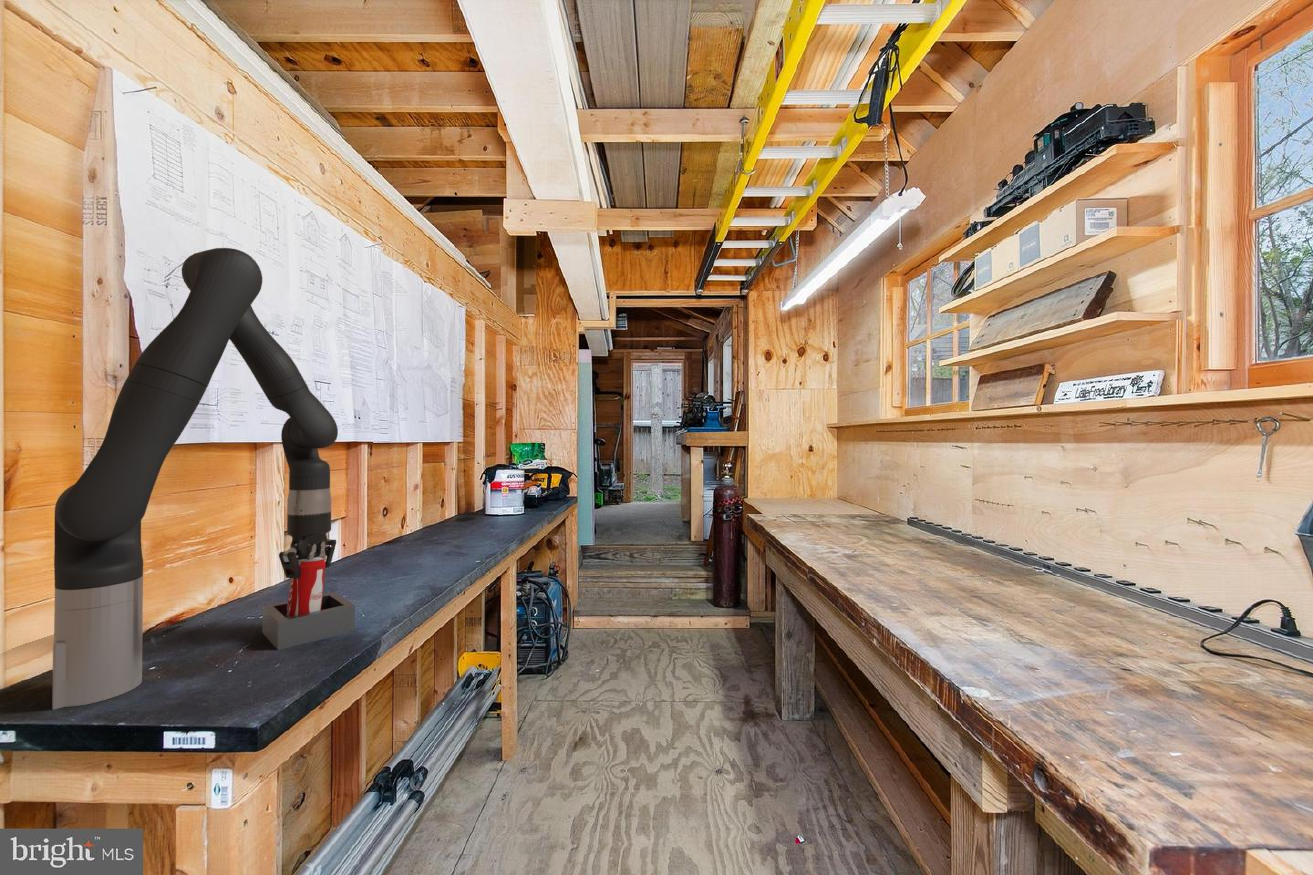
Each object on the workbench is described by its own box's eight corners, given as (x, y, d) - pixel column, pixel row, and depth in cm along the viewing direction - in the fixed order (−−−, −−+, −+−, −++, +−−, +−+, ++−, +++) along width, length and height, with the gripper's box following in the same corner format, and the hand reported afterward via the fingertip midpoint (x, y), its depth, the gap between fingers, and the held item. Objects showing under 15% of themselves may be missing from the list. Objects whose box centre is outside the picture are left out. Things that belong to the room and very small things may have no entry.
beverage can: (281, 632, 101) (283, 557, 102) (319, 623, 106) (320, 553, 107) (289, 639, 97) (290, 562, 98) (327, 630, 102) (329, 557, 103)
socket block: (277, 653, 94) (278, 621, 94) (262, 635, 103) (262, 606, 103) (354, 633, 104) (354, 605, 104) (334, 618, 113) (334, 592, 113)
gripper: (302, 516, 96) (301, 605, 96) (349, 506, 111) (348, 584, 111) (264, 515, 97) (263, 604, 97) (316, 505, 111) (315, 583, 111)
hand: (309, 593), depth 104 cm, fingers closed on beverage can, 3 cm apart
